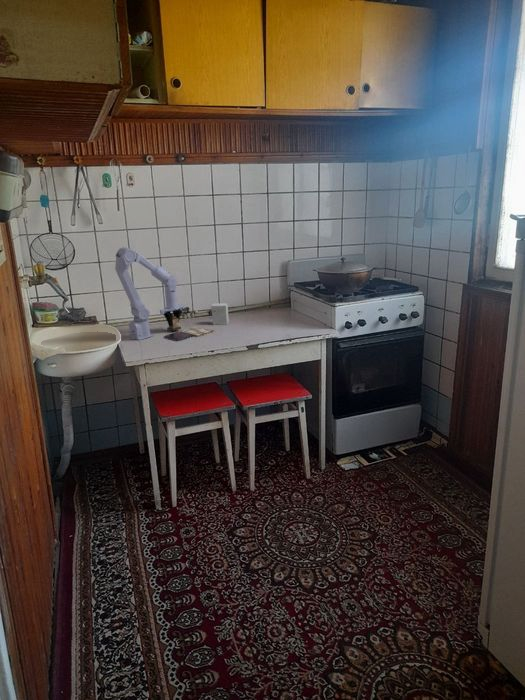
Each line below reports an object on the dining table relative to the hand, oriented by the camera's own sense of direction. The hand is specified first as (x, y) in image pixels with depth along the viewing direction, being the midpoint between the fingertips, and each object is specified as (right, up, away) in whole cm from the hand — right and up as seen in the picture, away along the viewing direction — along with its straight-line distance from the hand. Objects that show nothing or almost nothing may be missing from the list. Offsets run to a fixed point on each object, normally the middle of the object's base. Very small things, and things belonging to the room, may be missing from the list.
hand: (173, 324), depth 254 cm
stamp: (0, -2, +1) cm, 2 cm away
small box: (+23, +1, +12) cm, 26 cm away
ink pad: (+4, -7, -11) cm, 13 cm away
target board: (+12, -4, -3) cm, 13 cm away
